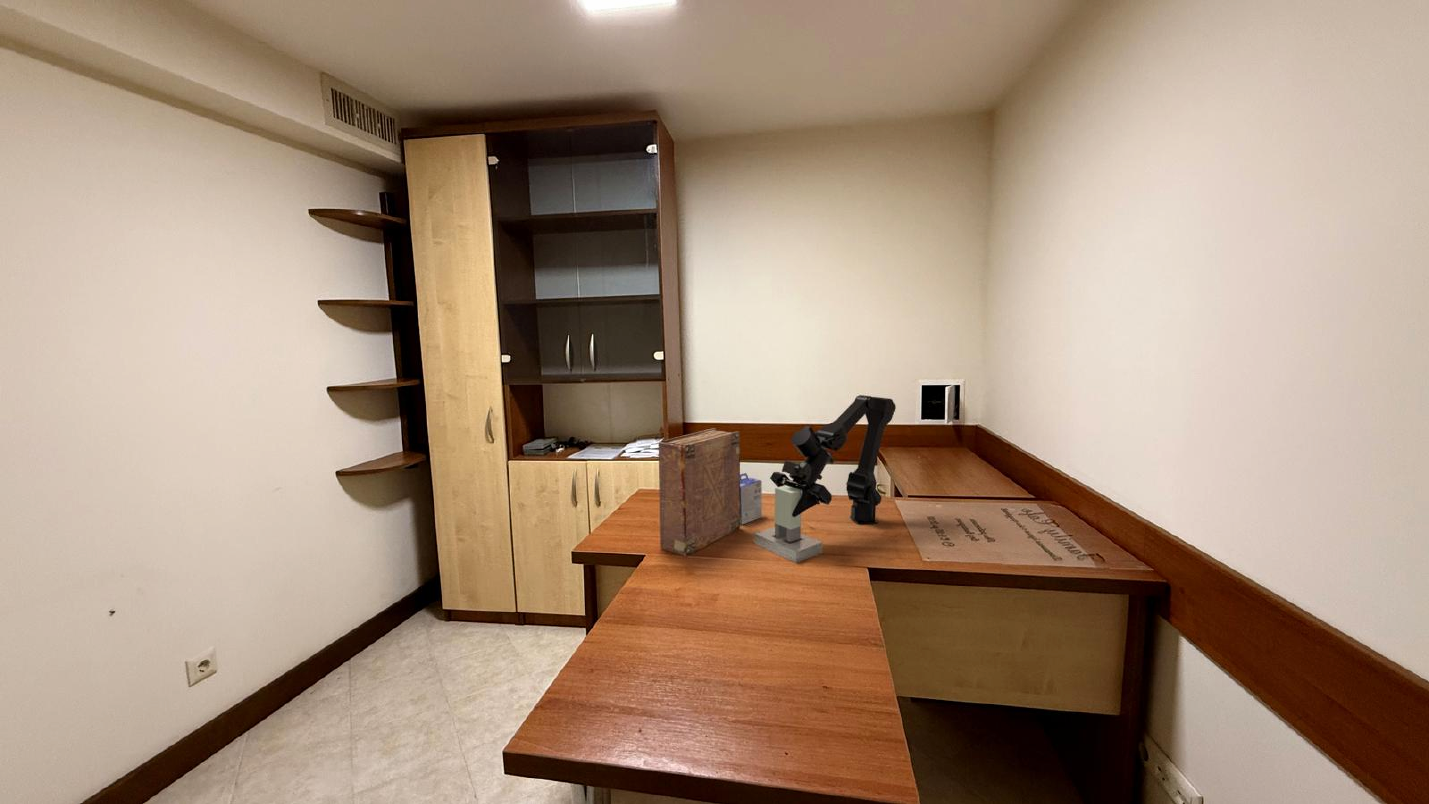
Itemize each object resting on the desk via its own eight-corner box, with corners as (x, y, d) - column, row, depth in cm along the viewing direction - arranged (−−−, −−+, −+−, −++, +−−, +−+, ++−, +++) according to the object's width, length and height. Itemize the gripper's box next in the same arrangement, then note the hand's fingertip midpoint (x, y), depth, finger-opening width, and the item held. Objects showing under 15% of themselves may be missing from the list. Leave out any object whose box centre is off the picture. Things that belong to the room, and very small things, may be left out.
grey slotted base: (779, 534, 155) (779, 525, 154) (821, 552, 142) (822, 542, 142) (754, 543, 149) (754, 533, 148) (796, 563, 136) (796, 551, 136)
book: (715, 522, 165) (715, 427, 161) (740, 528, 160) (740, 431, 156) (660, 549, 145) (658, 441, 141) (685, 557, 140) (684, 446, 136)
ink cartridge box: (749, 513, 173) (750, 470, 171) (762, 517, 169) (763, 473, 167) (728, 520, 166) (728, 476, 164) (741, 525, 162) (741, 479, 160)
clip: (784, 531, 149) (785, 485, 147) (800, 538, 144) (801, 490, 142) (774, 535, 146) (775, 488, 144) (790, 542, 141) (791, 493, 140)
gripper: (774, 443, 151) (745, 488, 146) (825, 456, 137) (795, 506, 132) (793, 466, 157) (766, 509, 152) (844, 480, 143) (816, 528, 138)
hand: (784, 513), depth 143 cm, fingers closed on clip, 6 cm apart
